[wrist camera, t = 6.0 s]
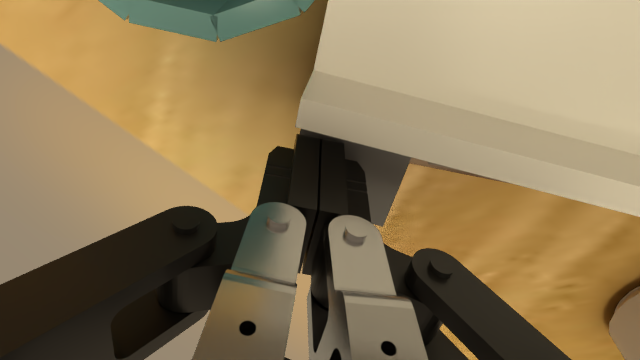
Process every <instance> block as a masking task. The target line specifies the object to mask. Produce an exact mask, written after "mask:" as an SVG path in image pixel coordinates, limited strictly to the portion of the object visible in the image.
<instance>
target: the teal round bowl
mask: <svg viewBox="0 0 640 360" xmlns="http://www.w3.org/2000/svg"><path fill="white" fill-rule="evenodd" d="M99 1H100V2H101V3H103V4H104V5H105V6H106V7H108V8H109V9H110V10H112V11H113V12H114V13H116V14H117V15H118V16H120V17H121V18H122V19H123V20H126V19H128V18H129V23H133V24H138V25H142V26H147V27H151V28H156V29H160V30H165V31H169V32H174V33H178V34H183V35H187V36H192V37H196V38H201V39H205V40H210V41H214V42H217V40H218V39H219V40H220V42H221V41H224V40H227V39H230V38H233V37H236V36H239V35H242V34H245V33H248V32H251V31H254V30H257V29H260V28H263V27H266V26H269V25H272V24H275V23H278V22H281V21H284V20H287V19H290V18H293V17H296V16H299V15H301V12H302V11H303V12H305V11H306V10H307V9H308V8H309V7H310V5H311V4H312V3H313V2H314V1H315V0H99Z"/></svg>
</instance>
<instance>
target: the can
mask: <svg viewBox="0 0 640 360" xmlns="http://www.w3.org/2000/svg"><path fill="white" fill-rule="evenodd" d="M609 334H610V336H611V337H612V339H613V341H614V342H615V344H616V346H617V347H618V349H619V350H620V352H621V354H622V355H623V357H624V358H625V360H640V286H638V287H637V288H635V289H633V290H632V291H630V292H629V293H628V294H627V295H626V296H625V297H623V298H622V299H621V300H620V302H619V303H618V305H617V307H616V309H615V313H614V315H613V317H612V319H611V320H610V322H609Z"/></svg>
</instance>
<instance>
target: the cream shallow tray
mask: <svg viewBox="0 0 640 360" xmlns="http://www.w3.org/2000/svg"><path fill="white" fill-rule="evenodd" d="M295 127H297V128H301V131H300V135H305V136H310V137H315V138H320V140H321V139H326V140H331V141H336V142H341V143H344V149H345V159H348V160H353V161H357V162H358V163H359V164H360V166H361V167H362V169H363V170H364V171H365V177H366V185H367V193H368V200H369V208H370V216H371V223H372V224H375V225H379V226H383V225H384V223H385V220H386V218H387V215H388V213H389V211H390V208H391V206H392V203H393V201H394V198H395V196H396V194H397V191H398V189H399V186H400V184H401V181H402V179H403V177H404V174H405V172H406V169H407V167H408V164H409V162H410V160H411V157H412V158H416V159H420V160H424V161H427V162H431V163H435V164H439V165H443V166H447V167H450V168H454V169H458V170H462V171H466V172H470V173H473V174H477V175H481V176H485V177H489V178H493V179H496V180H500V181H504V182H508V183H512V184H516V185H519V186H523V187H527V188H531V189H535V190H539V191H542V192H546V193H550V194H554V195H558V196H562V197H565V198H569V199H573V200H577V201H581V202H585V203H588V204H592V205H596V206H600V207H604V208H608V209H611V210H615V211H619V212H623V213H627V214H631V215H634V216H638V217H640V0H328V5H327V9H326V14H325V19H324V23H323V28H322V33H321V37H320V42H319V47H318V51H317V56H316V61H315V65H314V70H313V72H312V75H311V77H310V79H309V81H308V84H307V86H306V88H305V90H304V92H303V95H302V97H301V101H300V106H299V110H298V115H297V120H296V125H295Z"/></svg>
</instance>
